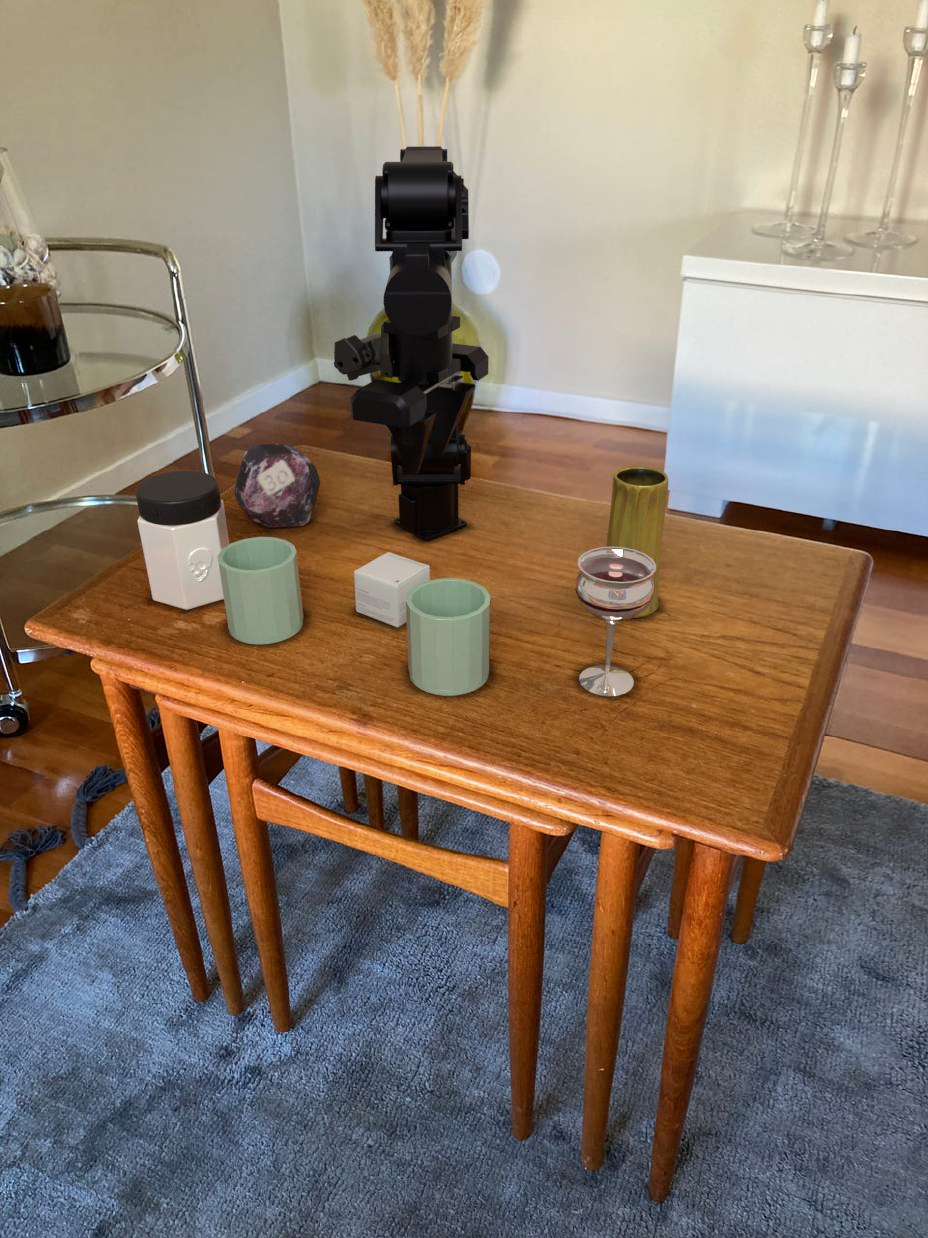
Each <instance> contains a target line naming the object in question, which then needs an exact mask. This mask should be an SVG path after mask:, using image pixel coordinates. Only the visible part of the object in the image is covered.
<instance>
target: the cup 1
mask: <svg viewBox="0 0 928 1238" xmlns="http://www.w3.org/2000/svg"><path fill="white" fill-rule="evenodd" d="M217 558H218V565H219V571H220V578H221V584H222V591H223V598H224V599H223V605H224V610H225V617H226V624H227V629H228V633H229V635H230V636H231V637H232V638H233V639H234V640H236V641H238V642H241V643H244V644H248V645H270V644H276V643H279V642H282V641H286V640H288V639H291V638H292V637H294V636H295V635H296V634H298V633H299V632H300V631H301V629H302V627H303V626H304V607H303V600H302V590H301V579H300V571H299V570H300V569H299V561H298V552H297V549H296V546H295V545H294V544H293V543H292V542H290V541H288V540H287V539H283V538H279V537H275V536H255V537H247V538H243V539H239V540H237V541H234V542H231V543H229V545H228V546H226V547H225V548H223V549H222V550H221V551H220V553H219V554H218V556H217Z"/></svg>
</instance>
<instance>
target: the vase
mask: <svg viewBox="0 0 928 1238" xmlns="http://www.w3.org/2000/svg"><path fill="white" fill-rule="evenodd" d="M668 491H669V476H668V474H667V473H666V472H665V471H663V470H661V469H658V468H655V467H651V466H645V465H633V466H625V467H623V468H622V467H621V468H619V469H617V470H615V472H614V473H613V478H612V490H611V501H610V510H609V511H610V512H609V520H608V521H609V523H608V529H607V531H608V532H607V536H606V537H607V538H606V547H625V548H629V549H634V550H637V551H639V552H642V553H644V554H646V555H648V556H649V557H650V558H652V559H653V561H654V562H655V564H656V571H655V573H654V574H653V575H652V577H653V579H654V594H653V597H652V600H651V601H650V603H649V605H648V606H647V608H646V609H645V610H644V611H642V612H641V613H639V614H638V615H636V616H635V617H633V618H632V619H638V618H644V617H647V616H650V615H651V614H653V613H655V612H656V611H657V610H658V607H659V581H660V579H659V578H660V563H661V562H660V561H661V550H662V542H663V541H662V540H663V532H664V524H665V515H666V508H667V499H668V493H669V492H668Z"/></svg>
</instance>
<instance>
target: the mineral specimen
mask: <svg viewBox="0 0 928 1238" xmlns="http://www.w3.org/2000/svg"><path fill="white" fill-rule="evenodd" d="M318 471H319V470H318V469H317V468H316V466H315V465H314V463H313V462H312V461H311V460H310V458H309V457H308V456H307V455H306V454H305V453H304V452H302V451H300V450H298V449H297V448H295V447H293V446H291V445H290V444H286V443H266V444H257V445H252V446H249V448H248V449H247V450H246V451H245V452H244V455H243V457H242V460H241V464H240V466H239V471H238V474H237V477H236V481H235V484H234V490H233V491H234V497H235V501H236V503H237V504H238V506H239V507H240V508H241V510H242V511H243V512H244V513H245V514H246V515H247V516H248V518H249V519H251V521H252V522H254V523H257V524H260V525H262V526H263V527H266V528H271V529H275V528H276V529H277V528H295V527H303V526H305V525H306V524H308V523H309V522H311V518H312V515H313V512H314V508H315V506H316V501H317V499H318V498H317V497H318V493H319V489H320V485H321V478H320V475H319V472H318Z"/></svg>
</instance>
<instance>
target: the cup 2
mask: <svg viewBox="0 0 928 1238" xmlns="http://www.w3.org/2000/svg"><path fill="white" fill-rule="evenodd" d="M491 598H492V597H491V594H490V593H489V591H488V590H487V588H486V587H485V586H483V585H481V584H479V583H477V582H476V581H472V580H468V579H464V578H460V577H459V578H457V577H441V578H435V579H430V580H428V581H426V582H423V583H421V584H418V585H416V586H415V587H414V588H413V589H411V590H410V591H409V592H408V594H407V598H406V619H407V622H406V643H407V668H408V674H409V679H410V680H411V682H412V683H413V685H414V686H415V687H416V688H418V689H419V690H421V691H423V692H425V693H428V694H431V695H435V696H436V695H437V696H444V697H445V696H446V697H455V696H461V695H466V694H469V693H472V692H475V691H476V690H478V689H480V688H481V687H483V686H484V684H486V682H487V681H488V679H489V677H490V666H491V655H490V654H491V603H492V602H491V600H492V599H491Z"/></svg>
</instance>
